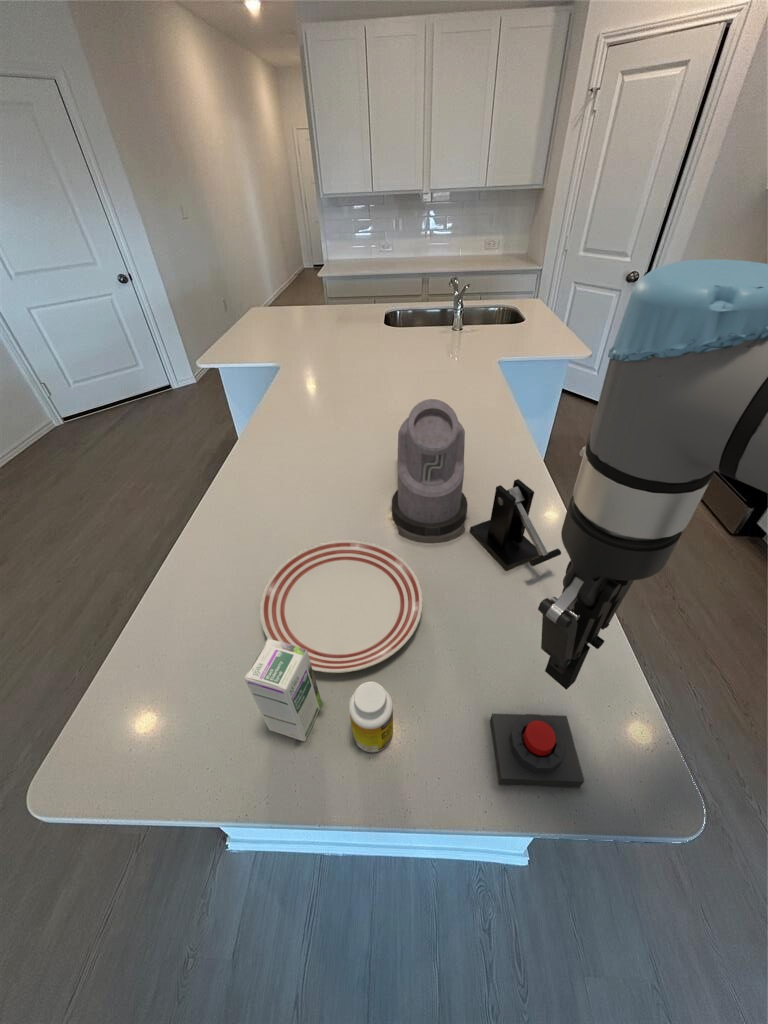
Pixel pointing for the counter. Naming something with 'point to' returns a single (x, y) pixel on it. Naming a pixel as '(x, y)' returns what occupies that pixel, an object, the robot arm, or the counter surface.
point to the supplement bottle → (371, 717)
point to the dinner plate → (343, 604)
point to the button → (539, 738)
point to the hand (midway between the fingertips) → (559, 676)
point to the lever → (531, 530)
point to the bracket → (507, 529)
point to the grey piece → (430, 475)
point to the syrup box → (285, 689)
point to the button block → (527, 767)
